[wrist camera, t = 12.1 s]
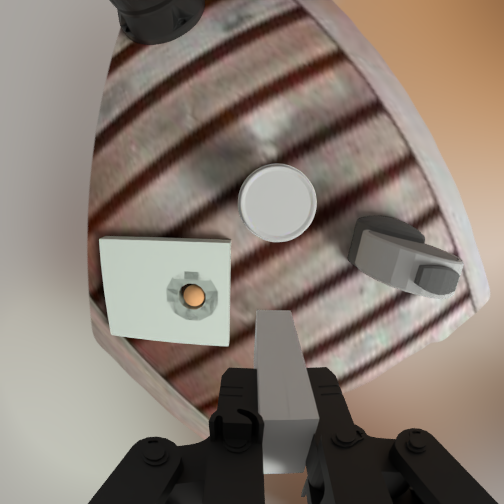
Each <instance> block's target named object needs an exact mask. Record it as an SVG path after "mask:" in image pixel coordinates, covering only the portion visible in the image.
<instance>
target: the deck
mask: <svg viewBox="0 0 504 504" xmlns="http://www.w3.org/2000/svg"><path fill="white" fill-rule="evenodd" d="M99 246H100V258H101V268H102V277H103V286H104V293H105V301H106V307H107V314H108V320H109V326H110V331H111V335H116V336H123V337H130V338H138V339H147V340H155V341H165V342H175V343H186V344H199V345H214V346H229V339H230V270H231V240H224V239H195V238H164V237H128V236H104V237H102V238H100V239H99ZM186 284H196V285H198V286H200V287H201V288H202V289H203V291H204V292H205V294H206V299H205V300H204V301H203V302H202V303H201V304H200V305H198V306H191V305H189V304H187V303H186V302H185V300H184V296H183V295H182V286H184V285H186Z"/></svg>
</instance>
